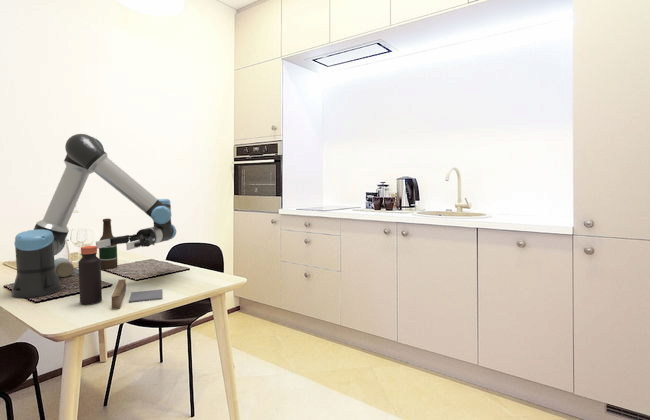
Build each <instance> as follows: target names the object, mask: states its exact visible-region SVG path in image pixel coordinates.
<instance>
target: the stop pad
mask: <svg viewBox="0 0 650 420" xmlns="http://www.w3.org/2000/svg"><path fill="white" fill-rule="evenodd" d="M149 300H150V301H156V300H157V301H158V300H163V289H153V290H150V289H149V290H140V291H131V292H130V295H129V300H128V303H129V304H130V303H139V302H140V301H141V302H148V301H149Z"/></svg>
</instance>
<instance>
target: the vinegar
mask: <svg viewBox="0 0 650 420" xmlns="http://www.w3.org/2000/svg"><path fill="white" fill-rule="evenodd" d="M97 254H98V249H97V246H96V245H87V246H81V247H80V256H82V257H81V258H80V259H79V261H78V263H77V265H78V266H77V269H79V274H78V283H79V284H78V285H79V286H78V287H79V303H80V304H81V305H84V306H85V305H86V306H87V305H88V306H89V305H94V304H98V303H101V301H103V293H102V292H103V291H102V269H101V261H100V259H99V256H98V257H97Z"/></svg>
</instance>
